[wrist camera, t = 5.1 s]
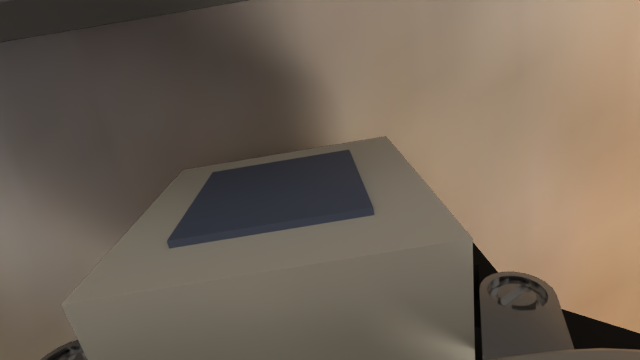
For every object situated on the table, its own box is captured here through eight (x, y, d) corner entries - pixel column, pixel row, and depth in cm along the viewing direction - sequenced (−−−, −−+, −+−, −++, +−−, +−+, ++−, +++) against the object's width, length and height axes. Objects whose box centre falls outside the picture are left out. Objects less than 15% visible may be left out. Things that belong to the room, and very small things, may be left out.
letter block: (385, 131, 11) (472, 228, 5) (402, 303, 13) (478, 502, 8) (181, 165, 11) (56, 296, 5) (231, 331, 13) (179, 547, 8)
